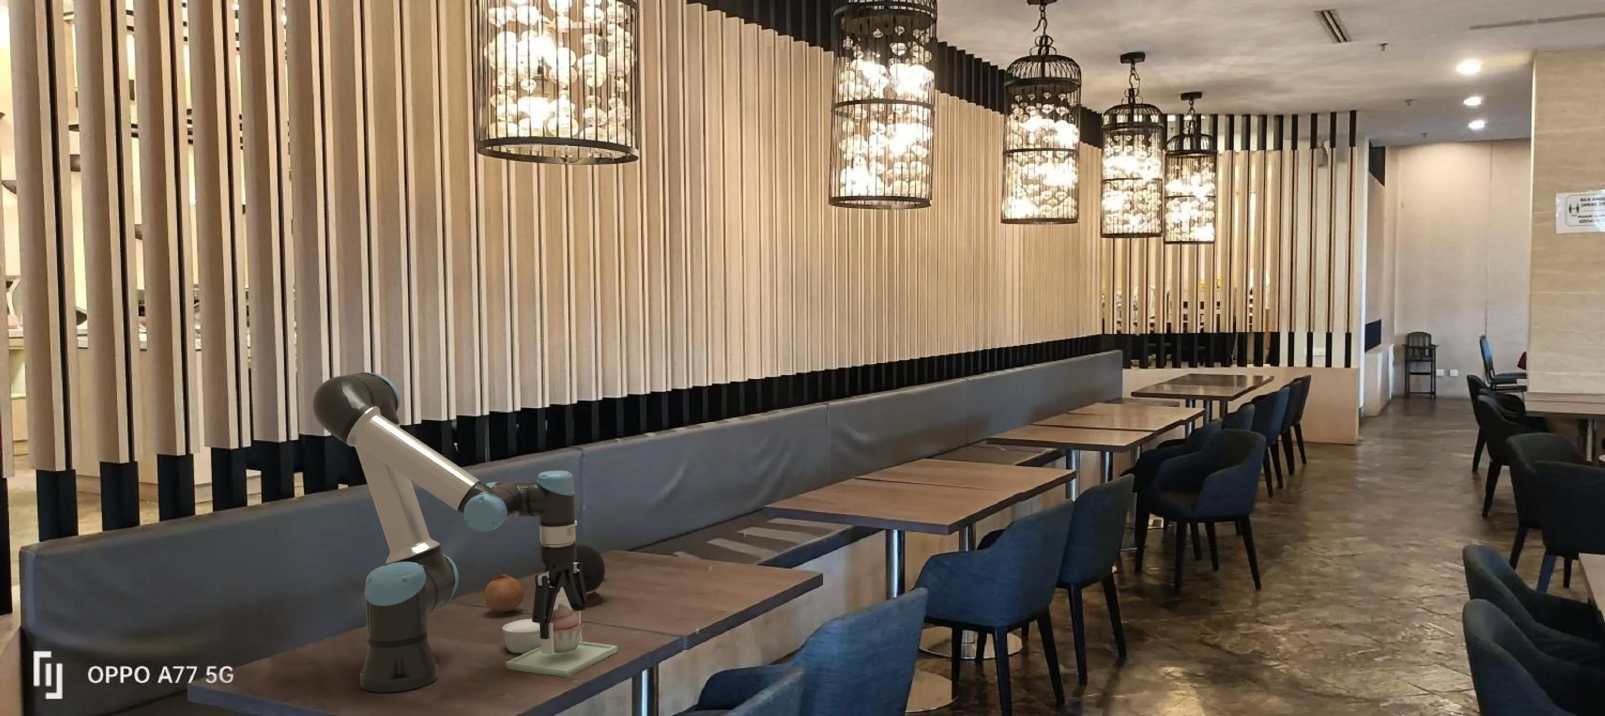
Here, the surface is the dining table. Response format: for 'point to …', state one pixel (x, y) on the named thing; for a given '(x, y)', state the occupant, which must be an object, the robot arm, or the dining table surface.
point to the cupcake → (565, 629)
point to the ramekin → (522, 636)
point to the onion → (504, 594)
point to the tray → (562, 660)
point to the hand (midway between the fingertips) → (562, 646)
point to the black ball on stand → (591, 572)
